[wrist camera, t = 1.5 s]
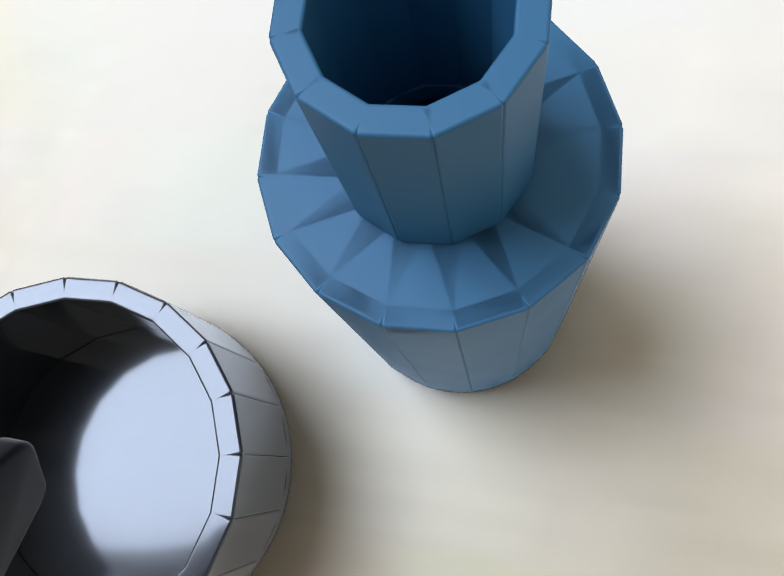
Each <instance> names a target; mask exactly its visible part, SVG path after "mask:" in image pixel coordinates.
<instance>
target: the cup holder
mask: <svg viewBox="0 0 784 576" xmlns="http://www.w3.org/2000/svg"><path fill="white" fill-rule="evenodd" d="M3 437H7V438H13V439H18V440H23V441H27V442H30V443H31V444H32V445H33V447H34V449H35V451H36V454H37V457H38V461H39V464H40V467H41V470H42V473H43V476H44V479H45V483H46V490H45V495H44V498H43V501H42V503H41V505H40V507H39V509H38V511H37V513H36V515H35V517H34V519H33V521H32V523H31V524H30V526H29V528H28V530H27V532H26V534H25V536H24V538H23V540H22V542H21V544H20V546H19V548H18V549H17V551H16V553H15V555H14V557H13V559H12V561H11V563H10V565H9V567H8V569H7V571H6V573H5V575H4V576H249V575H250V573H251V572H252V571H253V570H254V569H255V567H256V566H257V565H258V563H259V562H260V560H261V558H262V557H263V555H264V554H265V552H266V550H267V549H268V547H269V546H270V543H271V541H272V539H273V537H274V535H275V533H276V531H277V528H278V526H279V523H280V520H281V517H282V514H283V511H284V508H285V505H286V500H287V495H288V490H289V485H290V473H291V446H290V437H289V431H288V426H287V420H286V417H285V414H284V411H283V407H282V404H281V401H280V399H279V397H278V395H277V392H276V390H275V388H274V386H273V384H272V382H271V380H270V379H269V377H268V376H267V374H266V373H265V371H264V370H263V368H262V367H261V365H260V364H259V363H258V362H257V361H256V360H255V358H254V357H253V356H252V355H251V354H250V353H249V352H248V351H247V350H246V349H245V348H244V347H243V346H242V345H240V344H239V343H238V342H237V341H236V340H235V339H233V338H232V337H230V336H229V335H228V334H227V333H226V332H225V331H223V330H221V329H220V328H218V327H216V326H214V325H212V324H210V323H208V322H206V321H204V320H202V319H200V318H198V317H196V316H194V315H192V314H190V313H188V312H186V311H184V310H182V309H180V308H178V307H176V306H174V305H172V304H170V303H168V302H166V301H164V300H162V299H159V298H157V297H155V296H153V295H150V294H148V293H146V292H143V291H141V290H139V289H137V288H134V287H132V286H130V285H128V284H125V283H123V282H118V281H114V280H101V279H87V278H73V277H67V278H59V279H55V280H51V281H47V282H43V283H39V284H35V285H31V286H27V287H23V288H19V289H16V290H13V291H12V292H8V293H7V294H5V295H3V296H2V297H0V438H3Z"/></svg>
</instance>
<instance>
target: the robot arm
mask: <svg viewBox="0 0 784 576" xmlns="http://www.w3.org/2000/svg"><path fill="white" fill-rule="evenodd" d="M45 490H46V483H45V479H44V476H43V473H42V470H41V467H40V464H39V461H38V457H37V454H36V451H35V449H34V447H33V445H32V444H31V443H30V442H27V441H23V440H18V439H13V438H7V437H3V438H0V576H4V575H5V573H6V571H7V569H8V567H9V565H10V563H11V561H12V559H13V557H14V555H15V553H16V551H17V549H18V548H19V546H20V544H21V542H22V540H23V538H24V536H25V534H26V532H27V530H28V528H29V526H30V524H31V523H32V521H33V519H34V517H35V515H36V513H37V511H38V509H39V507H40V505H41V503H42V501H43V498H44V495H45Z"/></svg>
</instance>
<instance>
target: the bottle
mask: <svg viewBox="0 0 784 576" xmlns="http://www.w3.org/2000/svg"><path fill="white" fill-rule="evenodd" d="M551 10H552V0H274V7H273V13H272V19H271V26H270V32H269V38H270V45H271V47H272V49H273V51H274V54H275V56H276V58H277V60H278V62H279V65H280V67H281V69H282V71H283V73H284V75H285V78H286V82H285V84H284V85H283V87H282V89H281V91H280V92H279V94H278V96H277V97H276V99H275V101H274V102H273V104H272V106H271V107H270V109H269V111H268V114H267V117H266V123H265V130H264V136H263V143H262V149H261V156H260V162H259V169H258V183H259V187H260V191H261V195H262V198H263V202H264V206H265V210H266V213H267V217H268V221H269V225H270V229H271V232H272V236H273V239H274V240H275V243H276V245H277V246H278V247H279V248H280V250H281V251H282V252H283V253H284V254H285V256H286V257H287V258H288V259H289V261H290V262H291V263H292V264H293V266H294V267H295V268H296V269H297V271H298V272H299V273H300V274H301V275H302V277H303V278H304V279H305V280H306V282H307V283H308V284H309V285H310V287H311V288H312V289H313V290H314V292H315V293H316V294H317V295H318V296H319V297H320V298H322V299H323V300H324V301H325V302H326V303H327V304H328V305H329V306H330V307H331V308H332V309H333V310H334V311H335V312H336V313H337V314H338V315H339V316H340V317H341V318H342V319H343V320H344V321H345V322H346V323H347V324H348V325H349V326H350V327H351V328H352V329H353V330H354V331H355V332H356V333H357V334H358V335H359V336H360V337H361V338H362V339H363V340H365V341H366V342H367V343H368V344H369V345H370V346H371V347H372V348H373V349H374V350H375V351H376V352H377V353H378V354H379V355H380V356H381V357H382V358H383V359H384V360H385V361H386V362H387V363H388V364H389V365H390V366H391V367H393V368H394V369H395V370H397V371H399V372H401V373H402V374H404V375H405V376H407V377H409V378H410V379H412V380H414V381H416V382H418V383H420V384H423V385H425V386H427V387H431V388H434V389H438V390H443V391H450V392H474V391H481V390H485V389H490V388H494V387H496V386H499V385H501V384H504V383H506V382H508V381H510V380H512V379H514V378H516V377H517V376H519V375H520V374H522V373H523V372H524V371H526V370H527V369H528V368H530V367H531V366H532V365H533V364H534V363H535V362H536V361H537V360H538V359H539V358H540V357H541V356H542V355H543V354H544V353H545V352H546V351H547V350H548V348H549V346H550V344H551V342H552V340H553V338H554V336H555V334H556V332H557V330H558V328H559V326H560V324H561V322H562V320H563V318H564V316H565V314H566V312H567V310H568V307H569V305H570V303H571V301H572V299H573V297H574V295H575V292H576V290H577V288H578V286H579V284H580V282H581V280H582V277H583V275H584V273H585V271H586V269H587V267H588V265H589V262H590V260H591V258H592V256H593V254H594V252H595V250H596V247H597V245H598V243H599V241H600V239H601V237H602V235H603V232H604V230H605V228H606V226H607V224H608V222H609V220H610V217H611V215H612V213H613V211H614V209H615V207H616V205H617V202H618V200H619V196H620V193H621V173H622V146H623V128H622V122H621V120H620V117H619V115H618V113H617V110H616V108H615V106H614V103H613V101H612V98H611V96H610V94H609V91H608V89H607V86H606V84H605V82H604V79H603V77H602V75H601V72H600V70H599V67H598V66H597V65H596V63H595V61H593V60H592V59H591V58H590V57H589V56H588V55H587V54H586V53H585V52H584V51H583V50H582V49H581V48H580V47H579V46H578V45H576V44H575V43H574V42H573V41H572V40H571V39H570V38H569V37H568V36H567V35H566V34H565V33H564V32H563V31H562V30H560V29H559V28H558V27H557V26H556V25H555V24H554V23H553V22H552V21H551Z"/></svg>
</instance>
